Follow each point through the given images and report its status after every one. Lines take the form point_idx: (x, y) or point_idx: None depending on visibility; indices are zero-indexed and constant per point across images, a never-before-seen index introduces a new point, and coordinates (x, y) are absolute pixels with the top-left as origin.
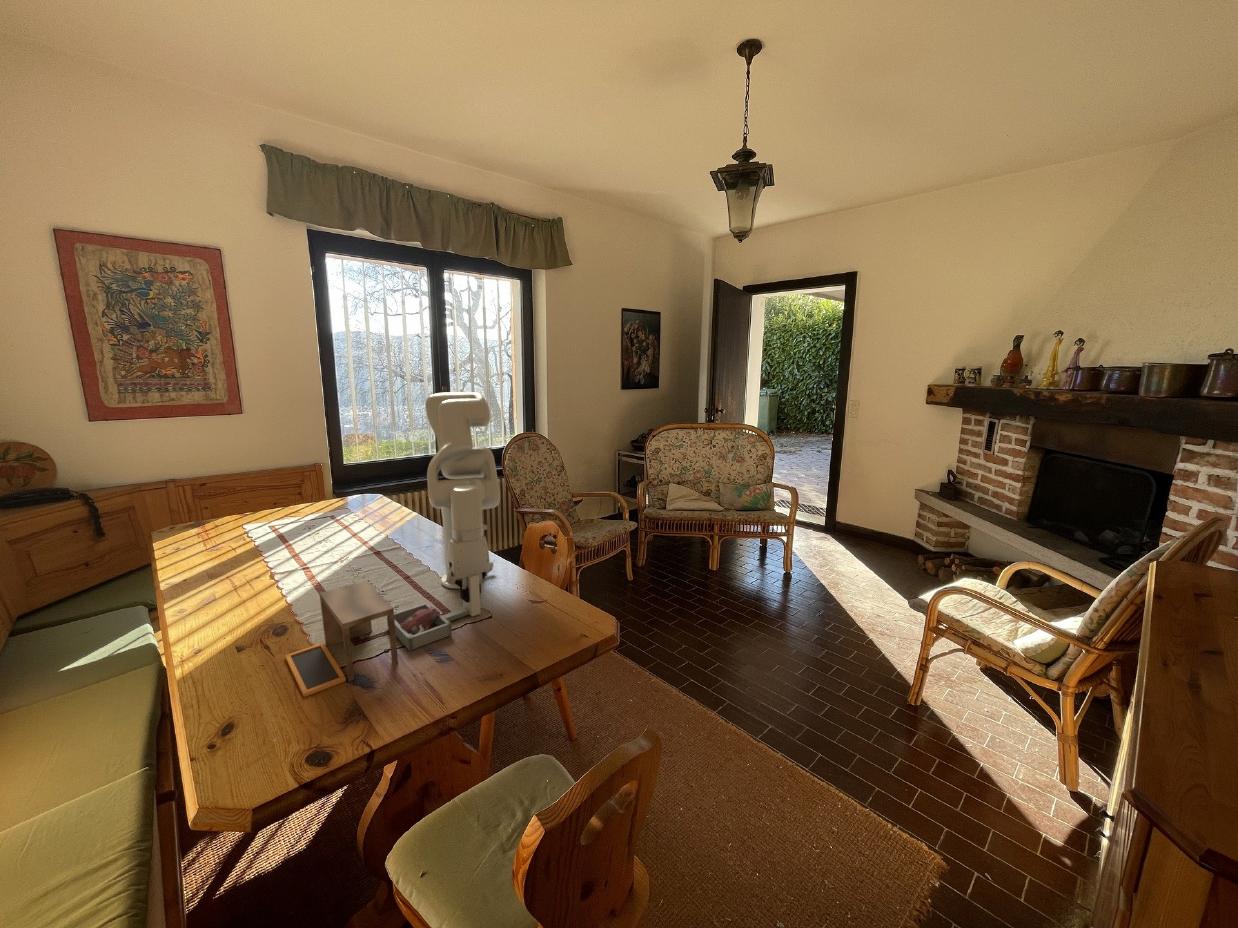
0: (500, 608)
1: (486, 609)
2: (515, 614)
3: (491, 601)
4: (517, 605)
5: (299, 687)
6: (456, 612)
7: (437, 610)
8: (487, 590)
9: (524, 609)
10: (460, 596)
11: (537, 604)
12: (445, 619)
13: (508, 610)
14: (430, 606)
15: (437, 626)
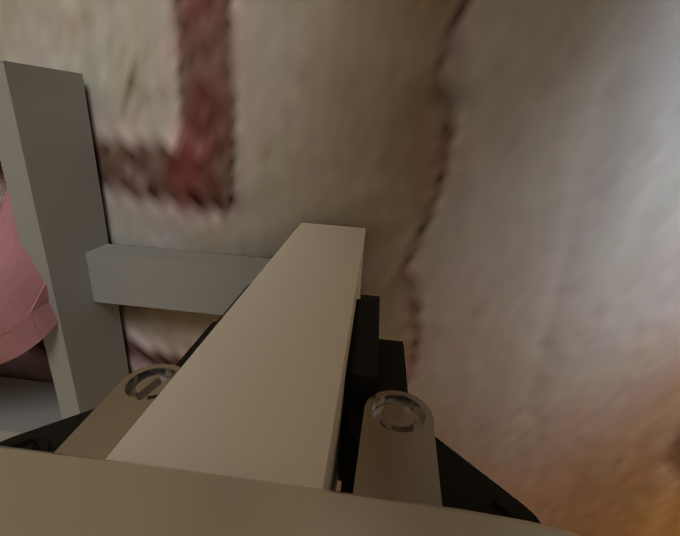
0: (490, 367)
1: (421, 315)
2: (495, 470)
3: (522, 248)
4: (587, 411)
5: None
6: (210, 290)
7: (9, 345)
8: (659, 40)
9: (572, 468)
10: (214, 322)
11: (671, 481)
12: (73, 403)
13: (503, 416)
14: (19, 161)
15: (15, 431)
